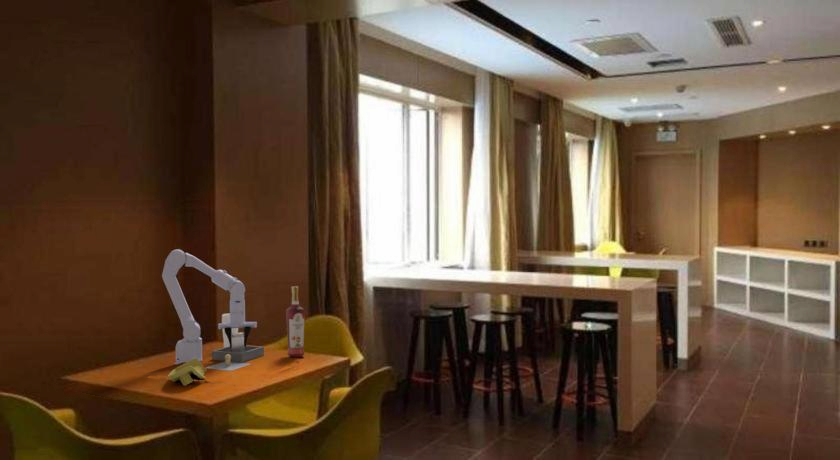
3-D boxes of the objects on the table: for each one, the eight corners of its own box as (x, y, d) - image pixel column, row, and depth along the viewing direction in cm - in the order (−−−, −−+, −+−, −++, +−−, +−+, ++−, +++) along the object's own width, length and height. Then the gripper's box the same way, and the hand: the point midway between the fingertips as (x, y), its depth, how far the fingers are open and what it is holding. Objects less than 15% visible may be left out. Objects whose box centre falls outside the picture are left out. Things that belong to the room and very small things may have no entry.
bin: (212, 362, 274) (211, 351, 274) (234, 355, 287) (234, 344, 287) (242, 365, 268) (241, 353, 268) (263, 358, 281) (263, 346, 281)
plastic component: (173, 369, 253) (199, 355, 255) (182, 387, 253) (208, 373, 255) (165, 378, 233) (193, 363, 235) (176, 398, 234) (204, 382, 236)
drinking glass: (242, 349, 300) (241, 313, 300) (231, 352, 294) (231, 315, 294) (229, 347, 303) (228, 312, 303) (218, 350, 297) (218, 315, 296)
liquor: (290, 359, 278) (289, 288, 277) (284, 356, 284) (282, 286, 283) (308, 357, 281) (307, 287, 280) (301, 354, 288) (300, 285, 287)
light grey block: (231, 353, 275) (231, 335, 274) (232, 350, 279) (232, 332, 278) (244, 352, 275) (243, 334, 275) (244, 349, 280) (244, 332, 279)
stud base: (204, 371, 259) (203, 356, 259) (225, 364, 270) (224, 350, 270) (231, 374, 254) (230, 358, 254) (251, 367, 266) (251, 352, 265)
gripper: (217, 314, 272) (218, 349, 272) (256, 312, 275) (257, 347, 275) (218, 311, 278) (219, 346, 279) (256, 309, 282) (257, 344, 282)
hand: (238, 346), depth 277 cm, fingers closed on light grey block, 5 cm apart
